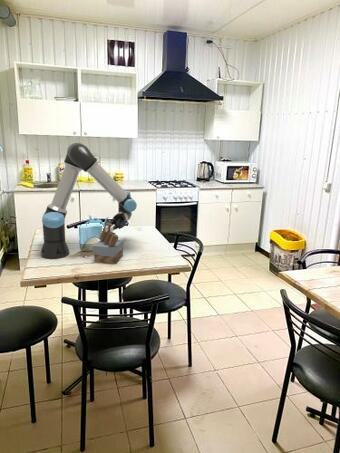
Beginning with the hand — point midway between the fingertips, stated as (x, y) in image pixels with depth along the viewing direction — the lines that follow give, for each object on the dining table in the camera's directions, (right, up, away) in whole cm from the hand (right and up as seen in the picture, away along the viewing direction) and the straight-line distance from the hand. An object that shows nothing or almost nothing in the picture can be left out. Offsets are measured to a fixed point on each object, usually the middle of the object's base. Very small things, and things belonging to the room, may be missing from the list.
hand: (108, 229), depth 186 cm
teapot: (-18, -2, +55) cm, 58 cm away
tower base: (-1, -17, +7) cm, 18 cm away
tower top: (-1, -12, +5) cm, 13 cm away
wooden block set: (-1, -7, +5) cm, 9 cm away
